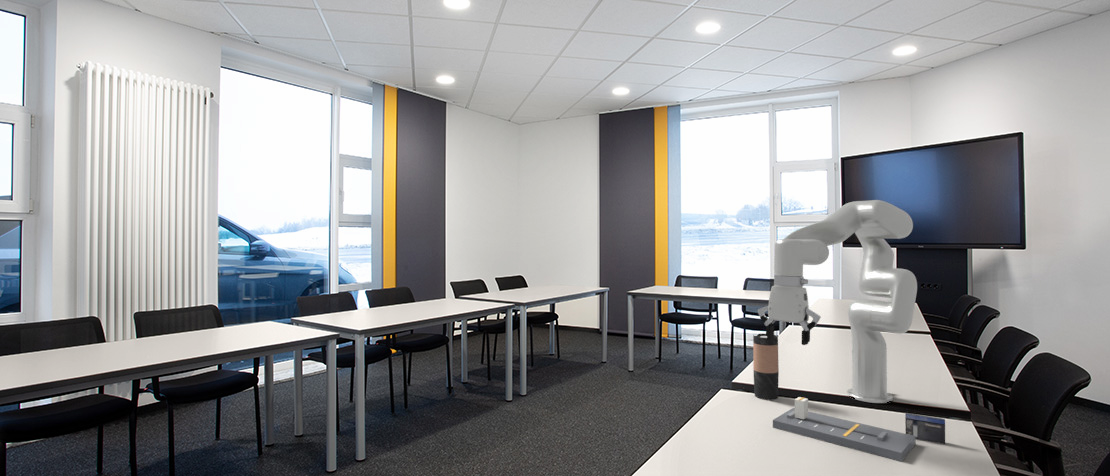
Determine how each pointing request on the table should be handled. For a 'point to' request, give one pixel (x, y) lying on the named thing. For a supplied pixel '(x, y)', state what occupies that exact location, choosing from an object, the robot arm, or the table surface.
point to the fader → (801, 408)
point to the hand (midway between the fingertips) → (787, 341)
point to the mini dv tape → (925, 427)
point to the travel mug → (765, 367)
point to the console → (848, 434)
